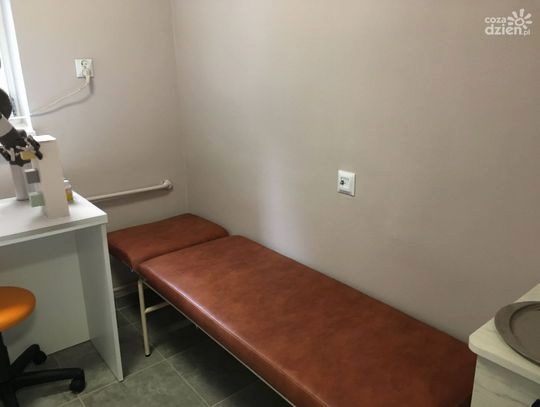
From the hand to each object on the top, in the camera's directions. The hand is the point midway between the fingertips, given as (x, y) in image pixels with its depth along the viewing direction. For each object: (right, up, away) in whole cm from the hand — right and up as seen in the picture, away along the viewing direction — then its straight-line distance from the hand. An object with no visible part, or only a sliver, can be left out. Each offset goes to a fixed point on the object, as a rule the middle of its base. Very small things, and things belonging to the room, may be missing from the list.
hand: (32, 162), depth 173 cm
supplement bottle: (-1, -16, +32) cm, 36 cm away
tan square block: (-4, +2, +6) cm, 8 cm away
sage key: (-3, -17, +12) cm, 21 cm away
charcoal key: (-3, -7, +9) cm, 12 cm away
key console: (+1, -20, +16) cm, 26 cm away
